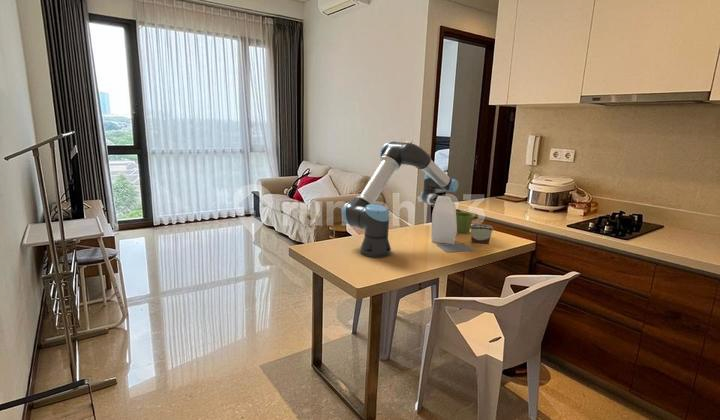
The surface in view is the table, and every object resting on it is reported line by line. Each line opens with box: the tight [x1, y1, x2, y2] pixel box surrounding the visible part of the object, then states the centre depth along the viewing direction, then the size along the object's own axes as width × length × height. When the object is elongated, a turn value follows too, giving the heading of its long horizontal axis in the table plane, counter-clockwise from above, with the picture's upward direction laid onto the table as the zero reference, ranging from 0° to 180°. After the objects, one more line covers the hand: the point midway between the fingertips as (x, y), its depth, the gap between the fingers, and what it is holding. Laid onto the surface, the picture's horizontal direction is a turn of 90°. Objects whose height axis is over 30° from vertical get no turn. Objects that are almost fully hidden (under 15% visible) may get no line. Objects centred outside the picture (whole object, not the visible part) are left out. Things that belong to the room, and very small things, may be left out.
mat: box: [436, 242, 475, 253], centre depth 201 cm, size 16×12×1 cm
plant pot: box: [456, 211, 476, 235], centre depth 230 cm, size 12×12×11 cm
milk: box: [431, 195, 458, 244], centre depth 206 cm, size 12×12×26 cm
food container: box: [470, 223, 494, 246], centre depth 211 cm, size 12×6×10 cm, turn 84°
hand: (453, 209), depth 208 cm, fingers closed
